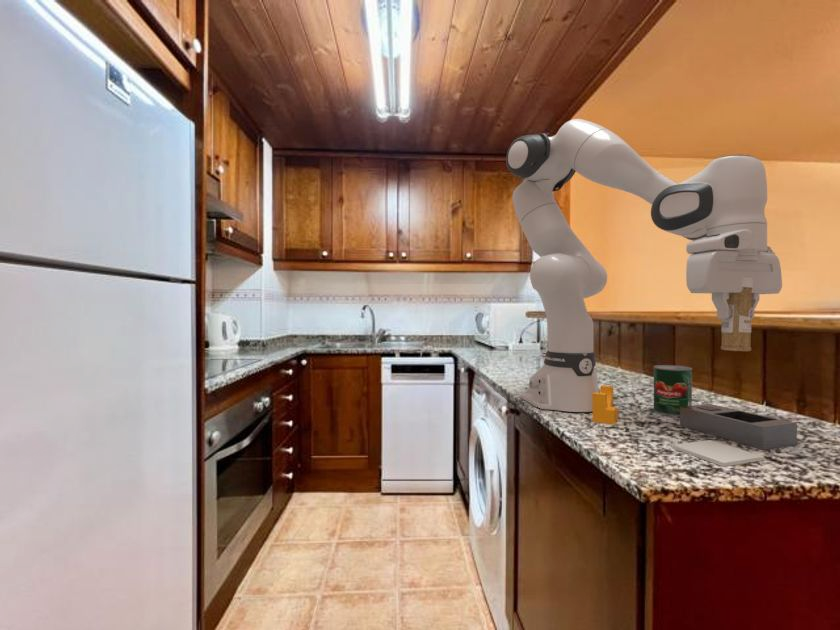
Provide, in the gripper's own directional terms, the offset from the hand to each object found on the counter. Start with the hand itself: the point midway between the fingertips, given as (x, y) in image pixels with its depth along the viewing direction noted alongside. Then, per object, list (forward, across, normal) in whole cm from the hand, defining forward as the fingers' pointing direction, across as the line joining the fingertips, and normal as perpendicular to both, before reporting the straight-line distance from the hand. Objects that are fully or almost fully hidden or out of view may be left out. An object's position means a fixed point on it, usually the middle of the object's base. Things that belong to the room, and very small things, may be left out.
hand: (735, 318), depth 74 cm
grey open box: (+23, -5, -3) cm, 24 cm away
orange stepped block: (+24, +9, -22) cm, 33 cm away
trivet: (+23, +10, +3) cm, 25 cm away
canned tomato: (+23, -9, -20) cm, 32 cm away
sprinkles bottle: (+6, 0, 0) cm, 6 cm away
